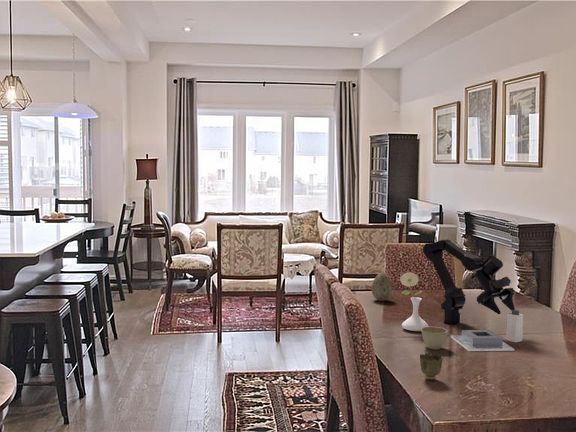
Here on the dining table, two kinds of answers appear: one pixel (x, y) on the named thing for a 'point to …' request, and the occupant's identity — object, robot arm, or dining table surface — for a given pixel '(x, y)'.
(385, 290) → the decorative egg
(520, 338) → the plug
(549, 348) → the dining table surface
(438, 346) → the flower pot
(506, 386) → the dining table surface
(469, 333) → the grey square frame
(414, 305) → the flower in vase
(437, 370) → the cup
